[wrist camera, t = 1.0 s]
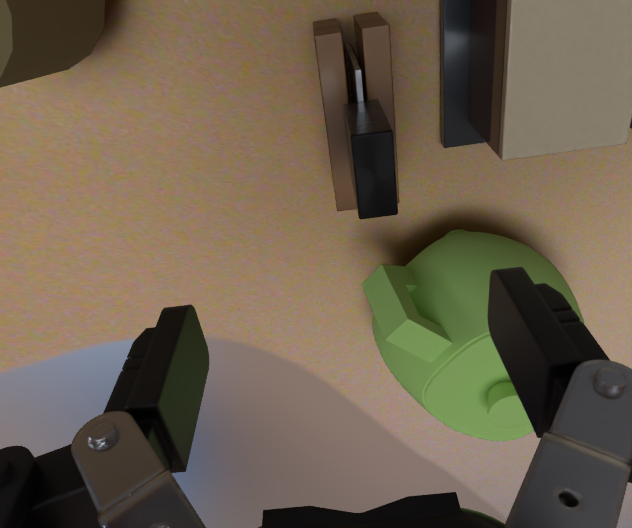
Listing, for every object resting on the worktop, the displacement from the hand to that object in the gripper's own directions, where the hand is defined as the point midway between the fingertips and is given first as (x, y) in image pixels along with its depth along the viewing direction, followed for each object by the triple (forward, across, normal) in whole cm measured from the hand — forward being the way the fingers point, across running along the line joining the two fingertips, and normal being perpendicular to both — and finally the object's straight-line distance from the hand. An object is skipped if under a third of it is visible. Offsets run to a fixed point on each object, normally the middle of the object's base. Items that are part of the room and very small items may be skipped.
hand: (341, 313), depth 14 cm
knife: (+22, -2, 0) cm, 22 cm away
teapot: (+22, -9, +16) cm, 29 cm away
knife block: (+22, -2, 0) cm, 22 cm away
